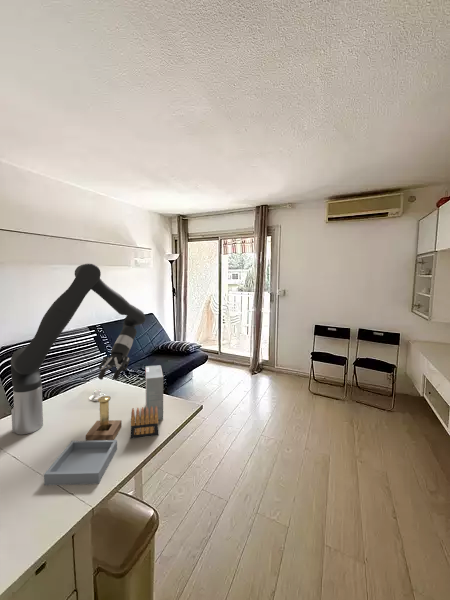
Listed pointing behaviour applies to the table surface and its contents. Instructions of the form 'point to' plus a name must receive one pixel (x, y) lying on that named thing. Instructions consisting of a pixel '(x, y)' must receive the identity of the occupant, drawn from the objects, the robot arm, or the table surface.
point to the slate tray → (81, 463)
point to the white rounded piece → (96, 395)
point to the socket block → (104, 435)
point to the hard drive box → (154, 389)
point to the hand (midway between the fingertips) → (107, 379)
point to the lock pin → (104, 413)
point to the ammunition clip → (144, 423)
